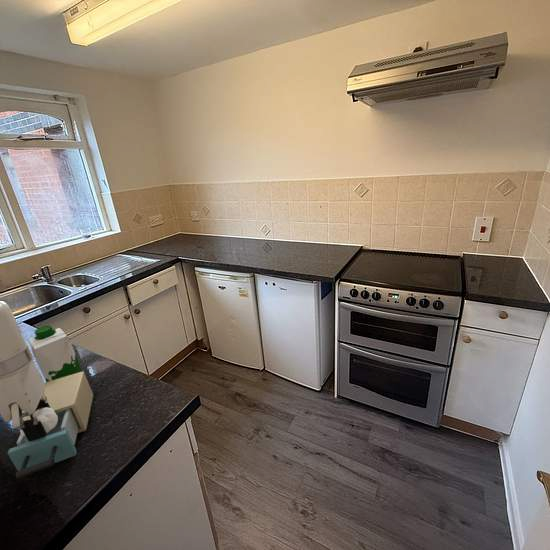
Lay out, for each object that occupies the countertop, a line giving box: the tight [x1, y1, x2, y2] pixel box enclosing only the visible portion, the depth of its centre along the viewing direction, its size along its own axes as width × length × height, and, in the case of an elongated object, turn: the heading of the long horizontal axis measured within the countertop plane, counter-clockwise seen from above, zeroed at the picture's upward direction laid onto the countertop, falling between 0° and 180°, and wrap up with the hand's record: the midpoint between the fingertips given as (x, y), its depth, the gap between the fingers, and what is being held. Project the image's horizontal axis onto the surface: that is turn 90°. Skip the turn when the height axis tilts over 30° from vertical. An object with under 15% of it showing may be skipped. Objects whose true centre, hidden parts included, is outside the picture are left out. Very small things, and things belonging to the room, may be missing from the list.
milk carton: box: [28, 325, 83, 382], centre depth 87 cm, size 9×9×20 cm
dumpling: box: [19, 407, 58, 436], centre depth 66 cm, size 7×5×4 cm
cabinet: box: [22, 370, 94, 434], centre depth 77 cm, size 14×12×9 cm
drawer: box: [7, 408, 79, 480], centre depth 67 cm, size 18×10×7 cm, turn 23°
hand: (41, 427), depth 66 cm, fingers closed on dumpling, 5 cm apart
